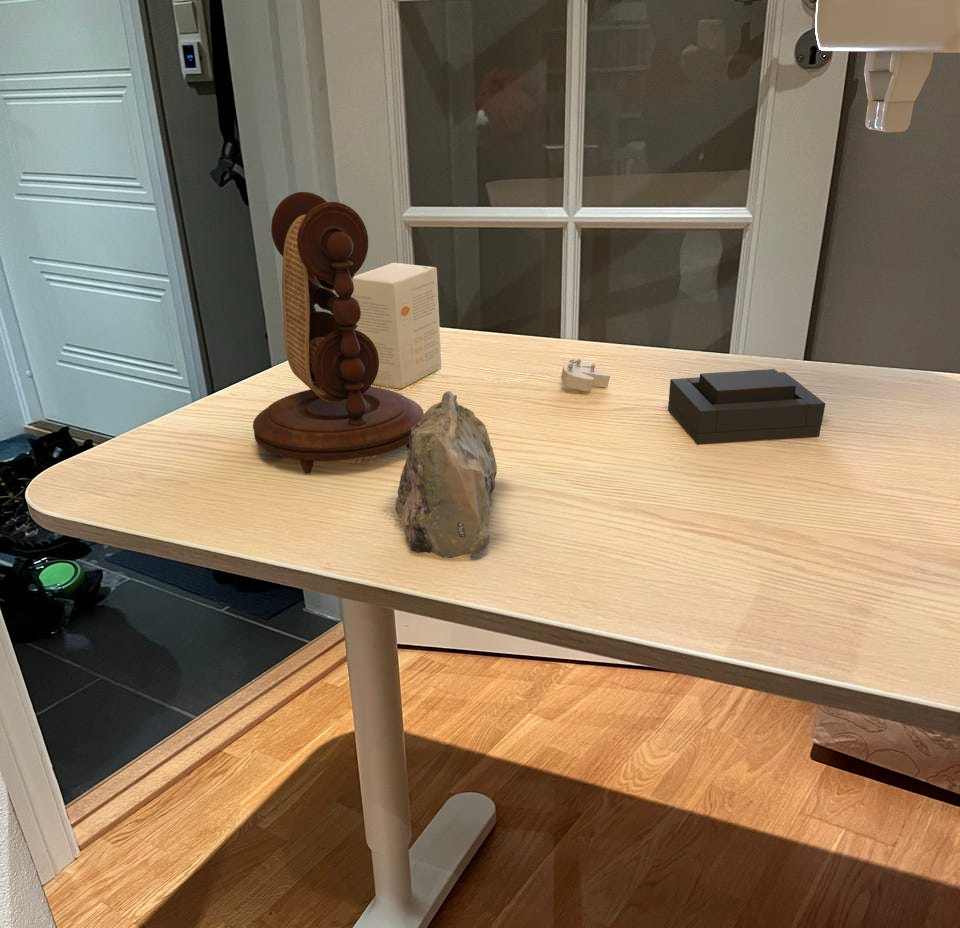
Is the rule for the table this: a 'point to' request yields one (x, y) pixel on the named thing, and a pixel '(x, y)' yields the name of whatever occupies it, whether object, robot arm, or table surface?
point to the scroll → (328, 344)
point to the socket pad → (744, 415)
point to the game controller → (581, 375)
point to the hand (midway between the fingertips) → (886, 130)
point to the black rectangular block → (745, 386)
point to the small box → (400, 321)
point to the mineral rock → (447, 482)
